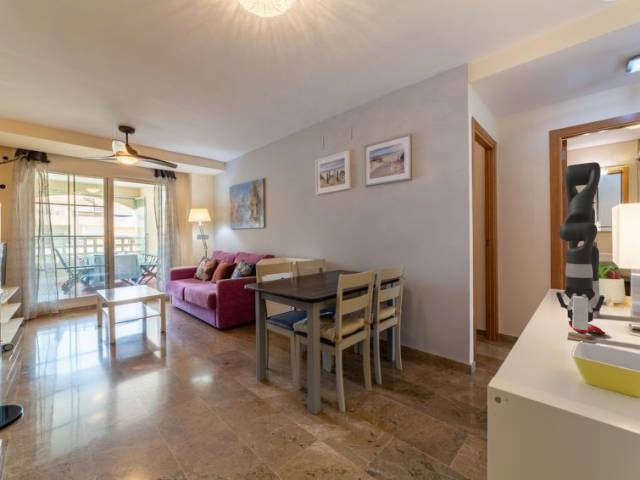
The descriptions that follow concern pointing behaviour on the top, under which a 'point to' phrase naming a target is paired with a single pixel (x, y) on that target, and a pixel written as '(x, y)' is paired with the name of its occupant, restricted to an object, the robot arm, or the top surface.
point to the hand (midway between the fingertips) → (580, 320)
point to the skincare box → (580, 312)
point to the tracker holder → (590, 328)
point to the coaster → (580, 337)
